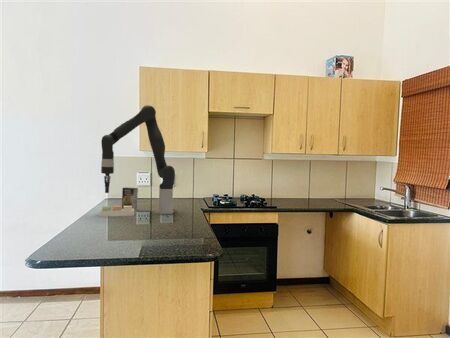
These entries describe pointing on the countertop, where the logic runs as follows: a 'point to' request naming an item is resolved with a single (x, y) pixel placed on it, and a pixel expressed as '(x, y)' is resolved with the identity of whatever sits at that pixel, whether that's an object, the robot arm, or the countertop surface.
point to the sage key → (106, 208)
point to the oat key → (127, 207)
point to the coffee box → (129, 197)
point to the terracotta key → (117, 208)
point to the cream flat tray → (116, 213)
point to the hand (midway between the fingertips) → (106, 192)
